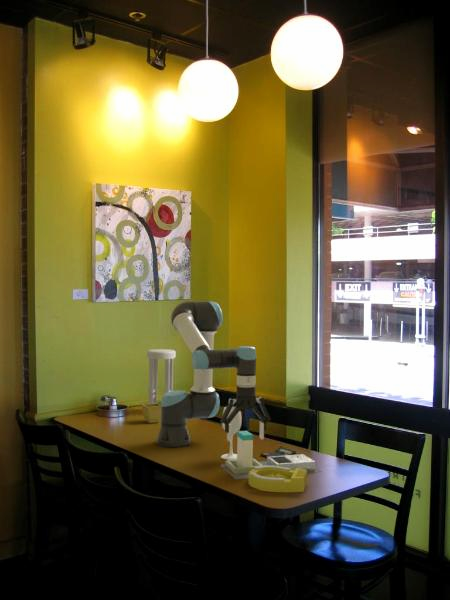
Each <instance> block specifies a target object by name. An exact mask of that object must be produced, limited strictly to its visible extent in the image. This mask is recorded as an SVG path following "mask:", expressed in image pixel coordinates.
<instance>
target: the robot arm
mask: <svg viewBox="0 0 450 600" xmlns="http://www.w3.org/2000/svg"><path fill="white" fill-rule="evenodd" d="M170 314H171V315H170V323H171V325H172V327H173V329H174V330H175V331H176V332H178V333H179V334H180V336H181V338H182V339H183V341H184V342H185V344H186V345H187V348H188V350H189V351H190V352H191V356H190V357H191V358H190V361H191V365H192V368H193V371H194V372H193V385H192V386H191V388H189V392H190V393H188V392H187V391H186V390H183V389H182V390H173V391H171V392H167V393H165V394H163V395H162V396H161V401H160V405H161V419H160V428H159V432H158V435H157V437H156V445H158V446H160V447H166V448H182V447H187V446H188V444H189V445H190V444H191V437H190V434H189V430H188V427H187V424H188V423H187V422H188V421H187V420H197V419H205V420H206V419H210V418H214V417H216V415H217V414H218V412H219V409H220V404H221V403H220V402H221V401H220V396H219V394H218V392H216V388H214V386H213V373H214V370H215V369H216V370H219V369H236V392H235V393H236V398H231V397H230V398H228V401H227V405H226V406H225V407H226V409H225V411H224V413H223V412H222V414H221V415H222V416H221V418H220V420H219V421H220V423H221V424H222V423H224V424H225V430H224V432H225V433H226V441H228V442H229V443H230V442H231V424H230V422H231V421H232V420H233V418H234V417H235V416H236V415H237V413H238V412H239V411H240V412H241V410H242V411H246V410H249V411H250V410H252V411H253V412H254V414H256V416H257V417H258V419H260V421H259V439H260V440H264V439H265V432H264V431H266V430H267V423H268V422H270V421H271V417H270V414H269V412H268V409H267V408H266V406H265V404H264V398H263V397H261V396H259V397H257V396H256V394H257V393H256V391H257V390H256V382H257V381H256V380H257V378H256V375H257V349H256V348H255V346H249V345H246V346H244V345H240V346H238V347H237V348H228V349H214V347H215V346H214V339H215V334H217V332H218V328H220V327H222V323H223V312H222V308H221V307H220V305H219V304H218V302H215V301H208V300H207V301H183V302H181V303H179V304H177V305H176V306H175V307H174V309H173V310H172V312H171V313H170ZM235 403H236V405H235ZM256 403H257V404H259V407H260V410H261V411H262V413H261V412H260V410H259V409H258V408H257V406H256V405H255V404H256ZM234 405H235V406H234ZM232 407H235V409H234V410H233V411H232V413H231V414H230V415H229V413H230V411H231V408H232ZM262 414H263V415H262ZM228 415H229V416H228ZM227 417H228V418H227ZM181 446H182V447H181Z"/></svg>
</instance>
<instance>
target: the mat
mask: <svg viewBox="0 0 450 600" xmlns="http://www.w3.org/2000/svg"><path fill="white" fill-rule="evenodd" d="M258 462H259V463H260V464H262V465H263V466H267V460H265V461H258ZM219 465H220V467H221V468H222V469H224V470H225V471H226V472H227V474H229V475H230V476H231V477H232V478H233V479H234V480H241V479H243V480H244V479H249V473H236V474H234V473H233V472H232V471H231V470H230V469H229V468H228V467H227V466H226V463H225V464H219ZM252 466H254V465H253V464H252ZM235 467H236V468H237V465H236V466H235ZM313 473H314V474H316V473H323V471H322V470H320V469H319V468H317V467H316V466H315V471H307V474H313Z"/></svg>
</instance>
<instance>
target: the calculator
mask: <svg viewBox="0 0 450 600" xmlns="http://www.w3.org/2000/svg"><path fill="white" fill-rule="evenodd" d="M285 455H297V451H295V450H291V449H288V448H287V447H286V448H285V447H282V446H279V448H277V449H276V450H274V451H273V452H263V453H260V456H261V457H264V458H266V459H267V457H271V456H285Z"/></svg>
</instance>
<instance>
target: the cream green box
mask: <svg viewBox="0 0 450 600" xmlns="http://www.w3.org/2000/svg"><path fill="white" fill-rule="evenodd" d="M236 435H237V438H236V441H237V443H236V444H237V445H236V454H237V459H236V460H237V467H250V466H252V464H253V459H254V458H253V457H254V456H253V455H254V454H253V452H254V434H252V433H251V432H249V431H248V430H239V431H238V432H236Z"/></svg>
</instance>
